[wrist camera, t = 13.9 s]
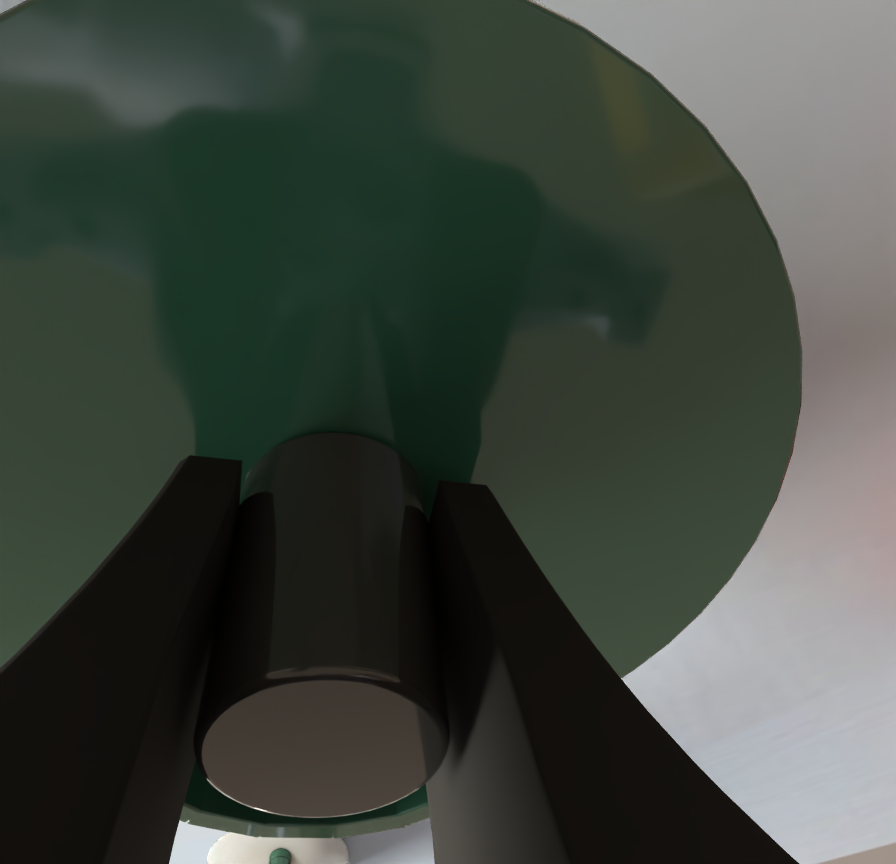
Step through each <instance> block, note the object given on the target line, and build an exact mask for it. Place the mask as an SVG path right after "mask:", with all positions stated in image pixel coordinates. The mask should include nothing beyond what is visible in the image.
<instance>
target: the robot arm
mask: <svg viewBox="0 0 896 864" xmlns="http://www.w3.org/2000/svg"><path fill="white" fill-rule="evenodd" d="M241 474H242V460H233V459H223V458H213V457H203V456H193V455H189V456H188V457H186V458H185V459H183V460H182V461H180V462H179V463H178V465H177V467H176V468H175V470H174V471H173V473H172V474H171V476H170V477H169V479H168V480H167V482H166V483H165V484H164V486H163V487H162V489H161V490H160V491H159V493H158V494H157V496H156V497H155V498H154V500H153V501H152V502H151V504H150V505H149V506H148V508H147V509H146V510H145V511H144V513H143V514H142V515H141V516H140V518H139V519H138V520H137V521H136V523H135V524H134V525H133V526H132V528H131V529H130V530H129V531H128V533H127V534H126V535H125V536H124V537H123V539H122V540H121V541H120V542H119V543H118V544H117V546H116V547H115V548H114V549H113V550H112V551H111V552H110V554H109V555H108V556H107V557H106V558H105V559H104V561H103V562H102V563H101V564H100V565H99V566H98V568H97V569H96V570H95V571H94V572H93V573H92V575H91V576H90V577H89V578H88V579H87V580H86V581H85V582H84V583H83V585H82V586H81V587H80V588H79V589H78V590H77V591H76V592H75V593H74V594H73V595H72V596H71V597H70V598H69V599H68V600H67V601H66V602H65V603H64V605H63V606H62V607H61V608H60V609H59V610H58V611H57V612H56V613H55V614H54V615H53V616H52V617H51V618H50V619H49V620H48V621H47V622H46V623H45V624H44V625H43V626H42V627H41V628H40V629H39V630H38V631H37V632H36V633H35V634H34V635H33V637H32V638H31V639H30V640H29V641H28V642H27V643H26V644H25V645H24V646H23V647H22V648H21V649H20V650H19V651H18V652H16V653H15V654H14V655H13V656H12V657H11V658H10V659H9V660H8V661H7V662H6V663H5V664H4V665H3V666H2V667H1V668H0V864H169V861H170V856H171V852H172V847H173V843H174V839H175V835H176V831H177V827H178V823H179V820H180V816H181V812H182V809H183V805H184V801H185V797H186V794H187V790H188V786H189V782H190V779H191V775H192V771H193V767H194V764H195V760H196V757H195V754H194V749H193V736H194V730H195V725H196V720H197V715H198V709H199V704H200V699H201V694H202V689H203V684H204V679H205V674H206V669H207V663H208V658H209V653H210V648H211V643H212V638H213V633H214V628H215V623H216V618H217V612H218V607H219V602H220V597H221V592H222V588H223V584H224V579H225V575H226V571H227V567H228V562H229V557H230V552H231V547H232V542H233V537H234V531H235V526H236V521H237V516H238V511H239V506H240V490H241ZM429 533H430V542H431V551H432V561H433V570H434V580H435V589H436V599H437V608H438V618H439V627H440V637H441V646H442V656H443V665H444V674H445V684H446V693H447V703H448V712H449V722H450V743H449V748H448V751H447V754H446V757H445V759H444V761H443V763H442V765H441V767H440V768H439V769H438V771H437V772H436V774H435V775H434V776H433V777H432V778H431V779H430V780H429V781H428V782H427V783H426V789H427V797H428V805H429V813H430V821H431V829H432V837H433V847H434V859H435V864H799V863H798V862H797V861H796V860H795V859H793V858H792V857H791V856H790V855H789V854H788V853H787V852H786V851H785V850H784V849H782V848H781V847H780V846H779V845H778V844H777V843H776V842H775V841H774V840H773V839H772V838H771V837H770V836H769V835H768V834H767V833H766V832H765V831H764V830H763V829H762V828H761V827H760V826H758V825H757V824H756V823H755V822H754V821H753V820H752V819H751V818H750V817H749V816H748V815H747V814H746V813H745V812H744V811H743V810H742V809H741V808H740V807H739V806H738V805H737V804H736V803H734V802H733V801H732V800H731V799H730V798H729V797H728V796H727V795H726V794H725V793H724V792H723V791H722V790H721V789H720V788H719V787H718V786H717V785H716V784H715V783H714V782H713V781H712V780H711V779H710V778H709V777H708V776H707V775H706V774H705V773H704V772H703V771H702V770H701V769H700V767H699V766H698V765H697V764H696V763H695V762H694V761H693V760H692V759H691V758H690V757H689V756H688V755H687V754H686V753H685V751H684V750H683V749H682V748H681V747H680V746H679V745H678V744H677V743H676V742H675V740H674V739H673V738H672V737H671V736H670V735H669V734H668V733H667V732H666V731H665V729H664V728H663V727H662V726H661V725H660V724H659V723H658V722H657V721H656V720H655V718H654V717H653V716H652V715H651V714H650V713H649V712H648V711H647V710H646V708H645V707H644V706H643V705H642V704H641V703H640V701H639V700H638V699H637V698H636V696H635V695H634V694H633V693H632V692H631V690H630V689H629V688H628V687H627V686H626V684H625V683H624V682H623V681H622V679H621V678H620V677H619V676H618V674H617V673H616V672H615V670H614V669H613V668H612V667H611V665H610V664H609V663H608V662H607V660H606V659H605V658H604V656H603V655H602V654H601V653H600V651H599V650H598V649H597V648H596V646H595V645H594V644H593V642H592V641H591V639H590V638H589V637H588V635H587V634H586V633H585V631H584V630H583V629H582V627H581V626H580V625H579V623H578V622H577V620H576V619H575V618H574V616H573V615H572V613H571V612H570V611H569V609H568V608H567V606H566V605H565V603H564V602H563V601H562V599H561V598H560V596H559V595H558V593H557V592H556V591H555V589H554V588H553V586H552V585H551V584H550V582H549V581H548V579H547V578H546V576H545V575H544V573H543V572H542V570H541V569H540V567H539V566H538V564H537V563H536V561H535V560H534V558H533V556H532V555H531V553H530V552H529V550H528V549H527V547H526V546H525V544H524V543H523V541H522V539H521V538H520V536H519V535H518V533H517V531H516V530H515V528H514V527H513V525H512V524H511V522H510V520H509V519H508V517H507V516H506V514H505V512H504V511H503V509H502V507H501V506H500V504H499V503H498V501H497V499H496V498H495V496H494V495H493V493H492V492H491V490H490V489H489V488H488V486H487V485H482V484H472V483H462V482H452V481H442V480H439V484H438V488H437V492H436V496H435V500H434V504H433V508H432V512H431V516H430V520H429Z"/></svg>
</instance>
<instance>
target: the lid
mask: <svg viewBox="0 0 896 864" xmlns="http://www.w3.org/2000/svg"><path fill="white" fill-rule="evenodd" d="M801 388H802V346H801V338H800V331H799V324H798V317H797V310H796V303H795V296H794V292H793V289H792V286H791V283H790V280H789V277H788V273H787V270H786V267H785V264H784V261H783V258H782V255H781V251H780V248H779V245H778V242H777V239H776V237H775V235H774V233H773V231H772V229H771V227H770V225H769V223H768V221H767V219H766V217H765V215H764V213H763V211H762V210H761V208H760V206H759V204H758V202H757V200H756V198H755V196H754V194H753V192H752V190H751V188H750V186H749V184H748V182H747V181H746V179H745V178H744V177H743V175H742V174H741V173H740V171H739V170H738V169H737V167H736V166H735V165H734V163H733V162H732V161H731V159H730V158H729V157H728V155H727V154H726V153H725V151H724V150H723V149H722V147H721V146H720V145H719V143H718V142H717V141H716V139H715V138H714V137H713V135H712V134H711V133H710V131H709V130H708V129H707V127H706V126H705V125H704V124H703V123H702V122H701V121H700V120H699V119H698V118H697V117H696V116H695V115H694V114H693V113H692V112H691V111H690V110H689V109H687V108H686V107H685V106H684V105H683V104H682V103H681V102H680V101H679V100H678V99H677V98H676V97H675V96H674V95H673V94H672V93H671V92H670V91H669V90H668V89H667V88H666V87H665V86H664V85H663V84H662V83H660V82H659V81H658V80H657V79H656V78H655V77H654V76H653V75H652V74H651V73H650V72H648V71H647V70H645V69H644V68H643V67H641V66H640V65H638V64H637V63H635V62H634V61H632V60H631V59H630V58H628V57H627V56H625V55H624V54H622V53H621V52H620V51H618V50H617V49H615V48H614V47H612V46H611V45H609V44H608V43H607V42H605V41H604V40H602V39H601V38H599V37H598V36H597V35H595V34H594V33H592V32H591V31H589V30H588V29H586V28H585V27H584V26H582V25H580V24H579V23H577V22H576V21H574V20H572V19H570V18H568V17H566V16H564V15H562V14H560V13H558V12H556V11H554V10H552V9H550V8H547V7H545V6H543V5H541V4H539V3H537V2H535V1H533V0H26V1H24V2H22V3H20V4H18V5H16V6H14V7H12V8H11V9H9V10H7V11H5V12H3V13H1V14H0V668H1V667H2V666H3V665H4V664H5V663H6V662H7V661H8V660H9V659H10V658H11V657H12V656H13V655H14V654H15V653H16V652H18V651H19V650H20V649H21V648H22V647H23V646H24V645H25V644H26V643H27V642H28V641H29V640H30V639H31V638H32V637H33V635H34V634H35V633H36V632H37V631H38V630H39V629H40V628H41V627H42V626H43V625H44V624H45V623H46V622H47V621H48V620H49V619H50V618H51V617H52V616H53V615H54V614H55V613H56V612H57V611H58V610H59V609H60V608H61V607H62V606H63V605H64V603H65V602H66V601H67V600H68V599H69V598H70V597H71V596H72V595H73V594H74V593H75V592H76V591H77V590H78V589H79V588H80V587H81V586H82V585H83V583H84V582H85V581H86V580H87V579H88V578H89V577H90V576H91V575H92V573H93V572H94V571H95V570H96V569H97V568H98V566H99V565H100V564H101V563H102V562H103V561H104V559H105V558H106V557H107V556H108V555H109V554H110V552H111V551H112V550H113V549H114V548H115V547H116V546H117V544H118V543H119V542H120V541H121V540H122V539H123V537H124V536H125V535H126V534H127V533H128V531H129V530H130V529H131V528H132V526H133V525H134V524H135V523H136V521H137V520H138V519H139V518H140V516H141V515H142V514H143V513H144V511H145V510H146V509H147V508H148V506H149V505H150V504H151V502H152V501H153V500H154V498H155V497H156V496H157V494H158V493H159V491H160V490H161V489H162V487H163V486H164V484H165V483H166V482H167V480H168V479H169V477H170V476H171V474H172V473H173V471H174V470H175V468H176V467H177V465H178V463H179V462H180V461H182V460H183V459H185V458H186V457H188V456H189V455H193V456H203V457H213V458H223V459H233V460H242V474H241V490H240V506H239V511H238V516H237V521H236V526H235V531H234V537H233V542H232V547H231V552H230V557H229V562H228V567H227V571H226V575H225V579H224V584H223V588H222V592H221V597H220V602H219V607H218V612H217V618H216V623H215V628H214V633H213V638H212V643H211V648H210V653H209V658H208V663H207V669H206V674H205V679H204V684H203V689H202V694H201V699H200V704H199V709H198V715H197V720H196V725H195V730H194V736H193V749H194V754H195V757H196V761H197V764H198V767H199V769H200V770H201V772H202V774H203V775H204V777H205V778H206V779H207V780H208V781H209V783H210V784H211V785H213V786H214V787H215V788H216V789H217V790H218V791H220V792H221V793H223V794H224V795H226V796H227V797H229V798H231V799H233V800H235V801H237V802H239V803H241V804H243V805H246V806H248V807H251V808H254V809H257V810H261V811H264V812H268V813H273V814H278V815H284V816H293V817H308V818H321V817H337V816H345V815H352V814H358V813H362V812H366V811H371V810H374V809H377V808H380V807H384V806H386V805H389V804H391V803H394V802H396V801H398V800H400V799H402V798H404V797H406V796H408V795H410V794H411V793H413V792H415V791H416V790H418V789H419V788H420V787H422V786H423V785H424V784H425V783H427V782H428V781H429V780H430V779H431V778H432V777H433V776H434V775H435V774H436V772H437V771H438V769H439V768H440V767H441V765H442V763H443V761H444V759H445V757H446V754H447V751H448V748H449V743H450V722H449V712H448V703H447V693H446V684H445V674H444V665H443V656H442V646H441V637H440V627H439V618H438V608H437V599H436V589H435V580H434V570H433V561H432V551H431V542H430V533H429V520H430V516H431V512H432V508H433V504H434V500H435V496H436V492H437V488H438V484H439V480H442V481H452V482H462V483H472V484H482V485H487V486H488V488H489V489H490V490H491V492H492V493H493V495H494V496H495V498H496V499H497V501H498V503H499V504H500V506H501V507H502V509H503V511H504V512H505V514H506V516H507V517H508V519H509V520H510V522H511V524H512V525H513V527H514V528H515V530H516V531H517V533H518V535H519V536H520V538H521V539H522V541H523V543H524V544H525V546H526V547H527V549H528V550H529V552H530V553H531V555H532V556H533V558H534V560H535V561H536V563H537V564H538V566H539V567H540V569H541V570H542V572H543V573H544V575H545V576H546V578H547V579H548V581H549V582H550V584H551V585H552V586H553V588H554V589H555V591H556V592H557V593H558V595H559V596H560V598H561V599H562V601H563V602H564V603H565V605H566V606H567V608H568V609H569V611H570V612H571V613H572V615H573V616H574V618H575V619H576V620H577V622H578V623H579V625H580V626H581V627H582V629H583V630H584V631H585V633H586V634H587V635H588V637H589V638H590V639H591V641H592V642H593V644H594V645H595V646H596V648H597V649H598V650H599V651H600V653H601V654H602V655H603V656H604V658H605V659H606V660H607V662H608V663H609V664H610V665H611V667H612V668H613V669H614V670H615V672H616V673H617V674H618V676H619V677H620V678H622V677H624V676H626V675H627V674H629V673H630V672H632V671H634V670H635V669H636V668H638V667H639V666H640V665H641V664H643V663H644V662H645V661H647V660H648V659H649V658H651V657H652V656H653V655H655V654H656V653H657V652H658V651H660V650H661V649H662V648H664V647H665V646H666V645H668V644H669V643H670V642H671V641H672V640H673V639H674V638H675V637H676V636H677V635H678V634H680V633H681V632H682V631H683V630H684V629H685V628H686V627H687V626H688V625H689V624H690V623H691V622H692V621H693V620H694V619H695V618H697V617H698V616H699V615H700V614H701V613H702V612H703V610H704V609H705V608H706V607H707V606H708V605H709V603H710V602H711V601H712V600H713V599H714V598H715V596H716V595H717V594H718V593H719V592H720V591H721V589H722V588H723V587H724V586H725V585H726V584H727V582H728V581H729V580H730V579H731V577H732V576H733V574H734V573H735V571H736V570H737V568H738V567H739V566H740V564H741V563H742V561H743V560H744V558H745V557H746V555H747V554H748V552H749V551H750V549H751V548H752V546H753V545H754V543H755V542H756V540H757V538H758V536H759V534H760V532H761V530H762V528H763V526H764V524H765V522H766V520H767V518H768V516H769V514H770V512H771V510H772V508H773V506H774V504H775V502H776V500H777V497H778V494H779V491H780V488H781V485H782V482H783V480H784V477H785V474H786V471H787V468H788V465H789V462H790V459H791V456H792V452H793V447H794V441H795V436H796V430H797V425H798V419H799V413H800V408H801Z"/></svg>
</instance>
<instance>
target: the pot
mask: <svg viewBox="0 0 896 864" xmlns="http://www.w3.org/2000/svg"><path fill="white" fill-rule="evenodd" d="M427 818H430V813H429V805H428V797H427V789H426V783H425V784H424V785H423V786H422V787H420V788H419V789H418V790H416V791H415V792H413V793H411V794H410V795H408V796H406V797H404V798H402V799H400V800H398V801H396V802H394V803H391V804H389V805H386V806H384V807H380V808H377V809H374V810H371V811H366V812H362V813H358V814H352V815H345V816H337V817H321V818H308V817H293V816H284V815H278V814H273V813H268V812H264V811H261V810H257V809H254V808H251V807H248V806H246V805H243V804H241V803H239V802H237V801H235V800H233V799H231V798H229V797H227V796H226V795H224V794H223V793H221V792H220V791H218V790H217V789H216V788H215V787H214V786H213V785H211V784H210V783H209V781H208V780H207V779H206V778H205V777H204V775H203V774H202V772H201V770H200V769H199V767H198V764H197V761H196V760H195V764H194V767H193V771H192V775H191V779H190V782H189V786H188V790H187V794H186V797H185V801H184V805H183V809H182V812H181V816H180V821H183V822H187V824H191V825H196V826H201V827H206V828H211V829H216V830H221V831H226V832H231V833H236V834H241V835H246V836H251V837H256V838H258V837H259V836H260V837H263V838H335V839H336V838H342V837H348V836H354V835H360V834H367V833H373V832H379V831H385V830H391V829H397V828H403V827H405V825H406V826H408V825H411V824H414V823H417V822H419V821H422V820H425V819H427Z"/></svg>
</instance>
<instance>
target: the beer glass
mask: <svg viewBox="0 0 896 864" xmlns="http://www.w3.org/2000/svg"><path fill="white" fill-rule="evenodd" d="M348 856H349V855H348V848H347V846H346V844H345V842H344V841H343V840H342V838H336V839H335V838H263V837H260V836H259V837H258V838H256V837H251V836H246V835H241V834H236V833H231V832H228V833H226V834H225V835H223V836H222V837H220V838H219V839H218V840H217V841H216V842H215V843H214V844H213V845H212V847H211V849H210V851H209V854H208V857H207V864H348Z"/></svg>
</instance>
